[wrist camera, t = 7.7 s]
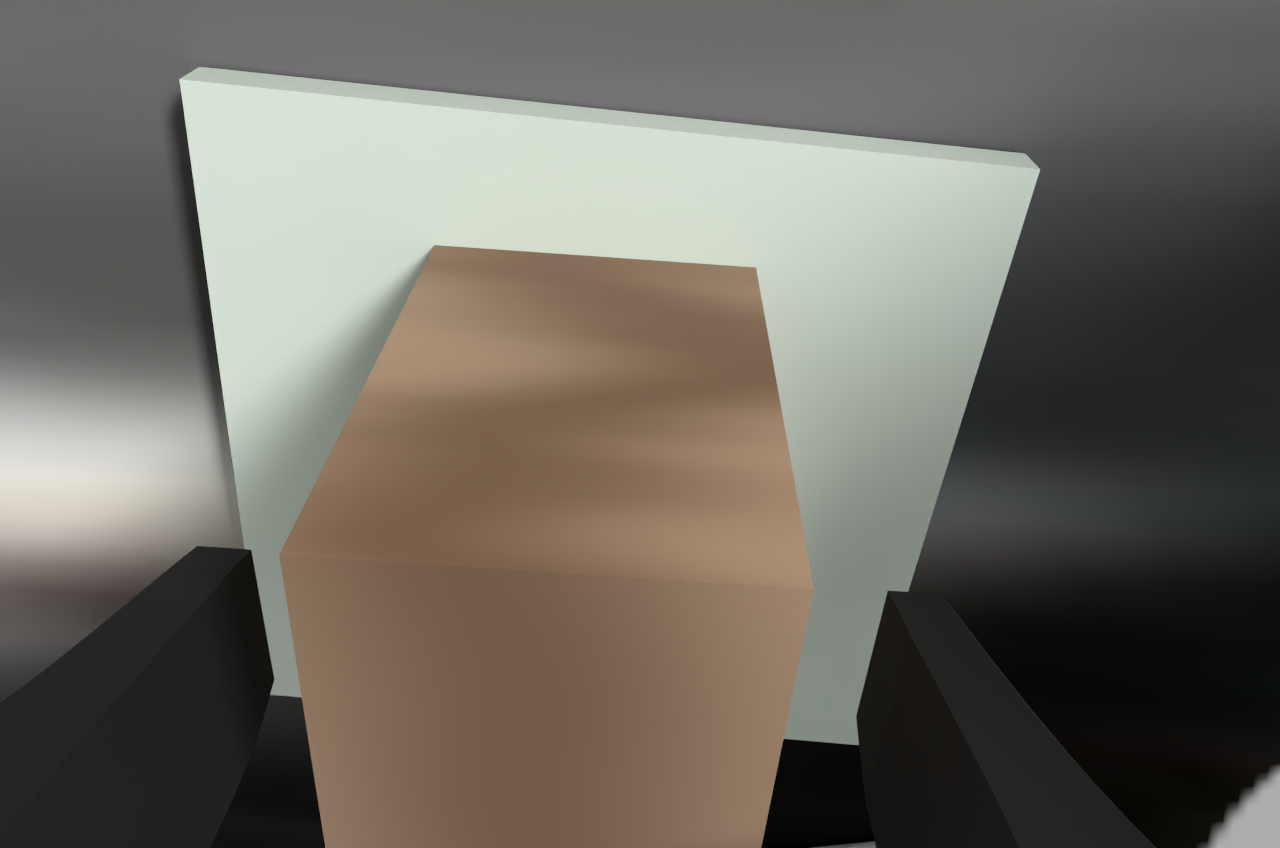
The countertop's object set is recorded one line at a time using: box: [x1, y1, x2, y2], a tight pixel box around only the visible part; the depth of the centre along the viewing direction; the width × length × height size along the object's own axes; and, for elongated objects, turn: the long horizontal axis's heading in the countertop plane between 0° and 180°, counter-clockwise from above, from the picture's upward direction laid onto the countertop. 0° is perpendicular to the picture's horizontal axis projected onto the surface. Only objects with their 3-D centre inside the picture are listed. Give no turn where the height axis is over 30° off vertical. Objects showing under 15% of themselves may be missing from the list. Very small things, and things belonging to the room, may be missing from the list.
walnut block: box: [279, 245, 814, 848], centre depth 12 cm, size 4×6×6 cm, turn 176°
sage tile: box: [179, 67, 1040, 745], centre depth 15 cm, size 10×10×1 cm
